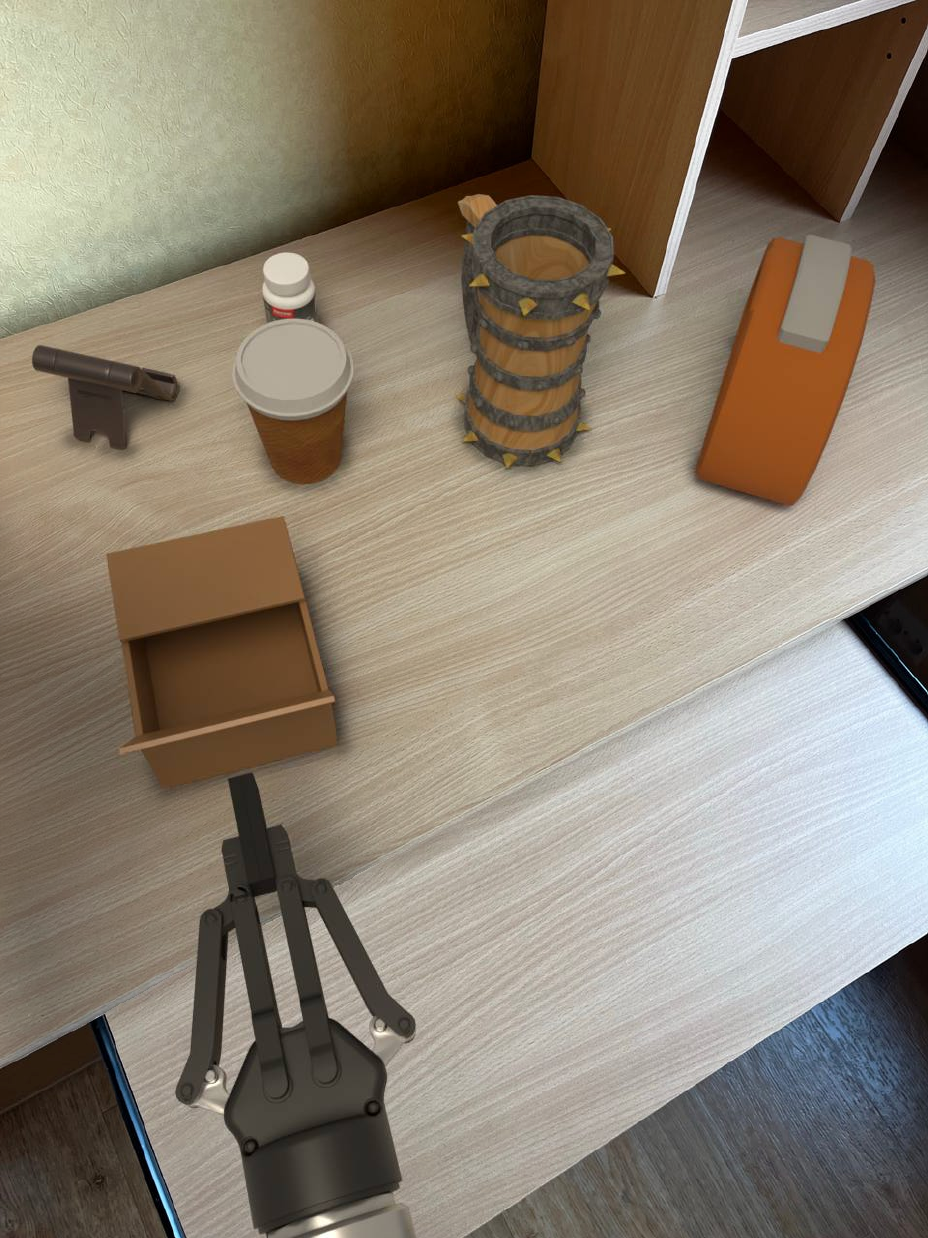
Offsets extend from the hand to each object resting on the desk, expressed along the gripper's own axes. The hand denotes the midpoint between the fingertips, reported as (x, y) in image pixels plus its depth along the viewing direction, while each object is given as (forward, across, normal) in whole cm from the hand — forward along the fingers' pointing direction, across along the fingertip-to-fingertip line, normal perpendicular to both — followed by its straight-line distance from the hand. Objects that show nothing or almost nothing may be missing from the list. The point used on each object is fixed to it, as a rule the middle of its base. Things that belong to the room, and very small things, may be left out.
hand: (243, 784), depth 63 cm
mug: (+35, +29, -14) cm, 48 cm away
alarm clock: (+28, +51, -14) cm, 60 cm away
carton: (+14, 0, -13) cm, 20 cm away
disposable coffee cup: (+34, +10, -14) cm, 38 cm away
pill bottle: (+48, +12, -14) cm, 52 cm away
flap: (+5, 0, -1) cm, 5 cm away
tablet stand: (+43, -5, -14) cm, 46 cm away
